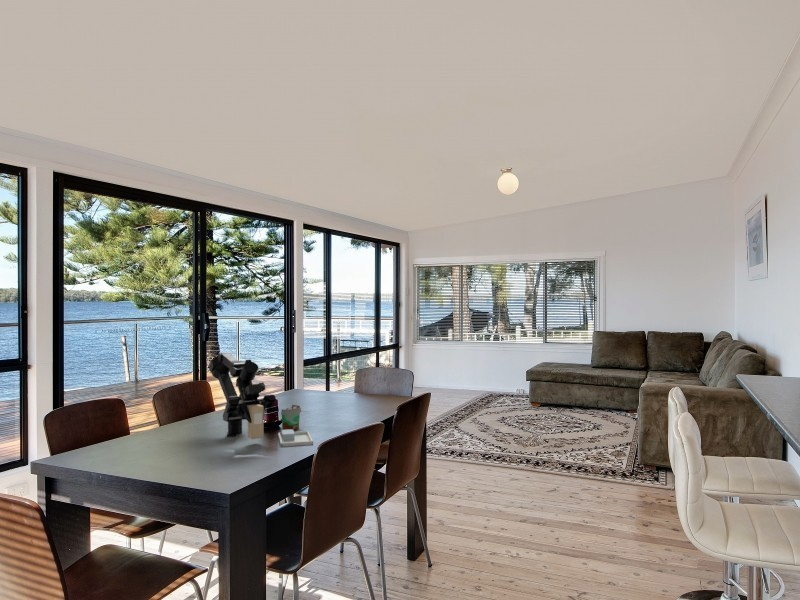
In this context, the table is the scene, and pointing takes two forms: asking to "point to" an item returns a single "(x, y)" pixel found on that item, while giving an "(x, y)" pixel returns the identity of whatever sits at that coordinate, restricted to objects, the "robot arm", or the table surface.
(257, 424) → the labelled carton
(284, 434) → the white rectangular block
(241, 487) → the table surface
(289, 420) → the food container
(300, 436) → the tray
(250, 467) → the table surface
